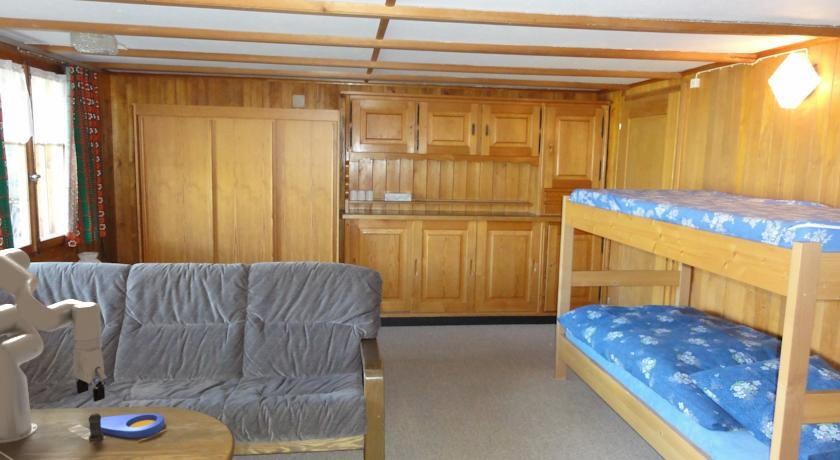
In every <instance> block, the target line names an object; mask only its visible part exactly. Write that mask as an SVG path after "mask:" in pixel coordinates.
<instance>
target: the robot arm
mask: <svg viewBox="0 0 840 460" xmlns="http://www.w3.org/2000/svg"><path fill="white" fill-rule="evenodd" d="M29 256H30V255H28V253H26V252H25V251H24V250H22V249H19V248H16V247H15V248H13V247H12V248H5V249H2V250H0V289H2V290H3V291H5V292H6V293H7V294H9V295H10V296H12V297H13V298H14V303H15V304H11V303H5V304H0V337H3V336H7V337H5V338H2V339H0V444H7V443H13V442H16V441H20V440H21V441H22V440H23V439H25V438H28V437H30V436H32V435H34V434H35V433H36V432H37V431H38V427H39V426H38V425H37V424H36V423H33V422H32V416H31V407H30V398H29V397H30V395H29V388H28V387H29V385H28V378H27V376H26V374H25V373H24V371H23V370H22V369H21V367H20V366H21V365H23V364H24V363H27V362H28V361H31V360H33V359H35V358H38V356H40V355H41V354H42V352H43V351H44V347H45V346H44V341H43V338H42V336H41V335H40V333H39V332H38V330H40V331H43V332H47V333H49V332H54V331H56V330H59V329H62V328H64V327H67V326H69V325H72V336H73V337H72V339H73V353H72V355H73V356H72V373H73V377H75V381H76V393H77V394H83V393H85V392H88V391H89V383H91V384H92V387H93V389H92V396H93V401H94V402H98V401H101V400H104V399H105V398H106V392H105V388H106V383H107V375H106V374H105V366H104V358H103V353H102V352H103V351H102V346H103V342H102V341H103V340H102V339H103V338H102V325H101V323H102V321H101V307H100V304H98V303H96V302H93V301H87V302H86V301H80V300H77V299H68V298H67V299H64V300H61V301H59V302H56V303H53V304H50V305H47V306H46V305H45V304H43V302H40V301H39V300H37V299H36V297H34V296H33V293H34V292H35V290H36V289H37V287H38V285H39V283H40V281H39V277H38V276H37V275H36V274H34V273H33V272H31V271H30V270H29V268H30V266H31V259H30V257H29ZM37 329H38V330H37Z"/></svg>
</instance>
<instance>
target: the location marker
mask: <svg viewBox="0 0 840 460" xmlns="http://www.w3.org/2000/svg"><path fill="white" fill-rule="evenodd" d="M100 421H101V433H103V434H104V435H105V434H106V435H110V436H115V437H121V438H126V439H128V438H129V439H139V438H143V439H144V438H145V439H146V438H149V437H151V436H154V435H156V434H158V433H159V432H161V431H162V430H163V429H164V428H165V426H166V425H165V424H166V423H165V417H164V416H163V415H162V414H160V413H156V412H155V413H152V412H151V413H149V412H148V413H146V412H145V413H131V414H121V415H111V416H110V415H109V416H104V417H102V416H101V420H100ZM88 425H89V426H90V422H89V421H88Z"/></svg>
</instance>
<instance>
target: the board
mask: <svg viewBox="0 0 840 460" xmlns="http://www.w3.org/2000/svg"><path fill="white" fill-rule="evenodd" d="M66 430H67V431H69V432H70V433H73V434H74V435H76V436H78V437H79V438H82V439H84V440H86V441H87V442H89V443H91V444H95V443H96V442H98V441H96V442H91V441H89V436H90V428H87V427H85V426H83V425H82V424H77V425H74V426H71V427H69V428H66ZM106 438H107V437H106V436H104V435H103V439H101V440H100V441H102V440H104V439H106Z"/></svg>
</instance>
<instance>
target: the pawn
mask: <svg viewBox="0 0 840 460" xmlns="http://www.w3.org/2000/svg"><path fill="white" fill-rule="evenodd" d="M101 418H102V416H101V414H100V413H98V412H94V413H91V414H90V415H89V417H88V423H89V422H90V425H89V429H90V436H89V438H88V439H89V441H91V442H95V443H96V441H97V442H99V441H102V440H104V439H103V436H104V433H101V421H100V420H101ZM101 439H102V440H101ZM89 441H88V442H89ZM91 442H90V443H91Z"/></svg>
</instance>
